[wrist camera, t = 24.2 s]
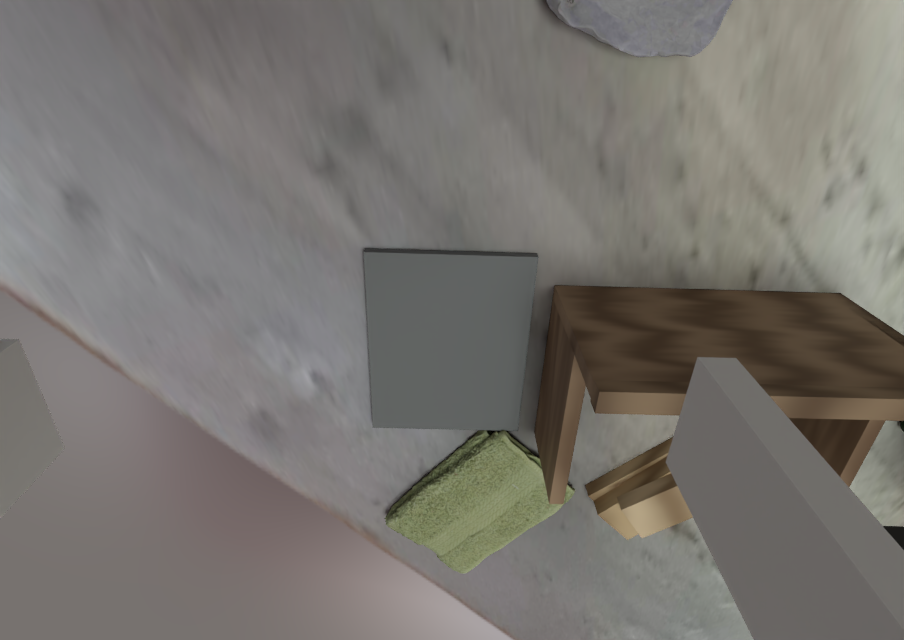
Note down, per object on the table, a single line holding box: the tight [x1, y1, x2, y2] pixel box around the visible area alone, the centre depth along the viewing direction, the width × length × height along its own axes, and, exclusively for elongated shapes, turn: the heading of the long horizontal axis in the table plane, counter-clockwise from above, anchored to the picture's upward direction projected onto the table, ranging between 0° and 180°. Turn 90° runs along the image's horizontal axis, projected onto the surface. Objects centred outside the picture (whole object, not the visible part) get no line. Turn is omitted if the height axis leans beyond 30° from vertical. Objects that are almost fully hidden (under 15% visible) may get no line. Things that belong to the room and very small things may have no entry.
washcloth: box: [384, 430, 575, 573], centre depth 55 cm, size 13×18×3 cm
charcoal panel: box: [364, 248, 538, 431], centre depth 47 cm, size 14×18×1 cm
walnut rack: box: [534, 285, 904, 504], centre depth 42 cm, size 24×16×15 cm, turn 88°
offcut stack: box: [585, 437, 693, 540], centre depth 53 cm, size 14×6×5 cm, turn 130°
